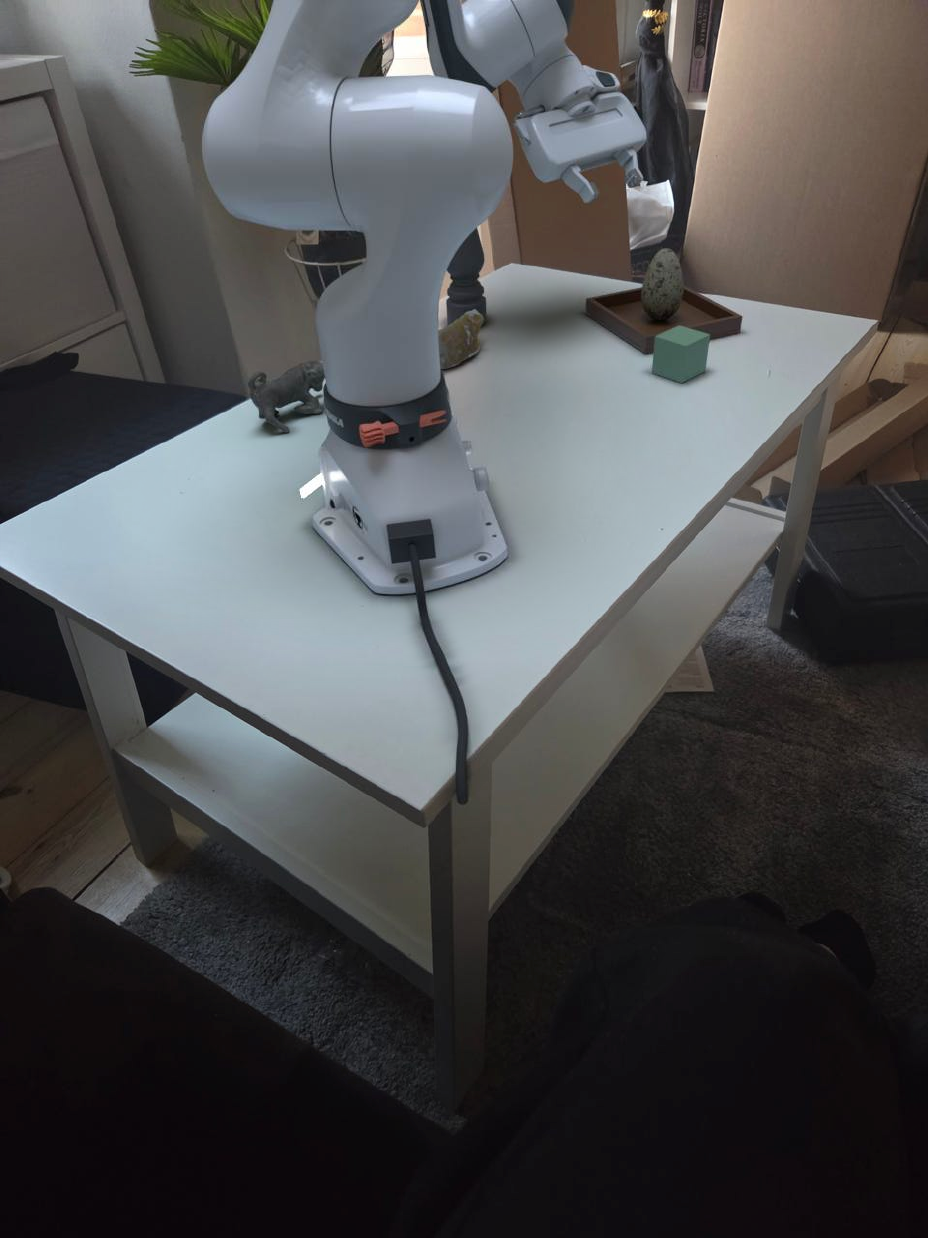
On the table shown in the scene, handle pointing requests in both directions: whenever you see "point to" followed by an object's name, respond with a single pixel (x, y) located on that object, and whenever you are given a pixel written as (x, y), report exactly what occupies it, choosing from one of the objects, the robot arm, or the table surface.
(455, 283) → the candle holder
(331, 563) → the table surface
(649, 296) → the decorative egg
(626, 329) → the tray
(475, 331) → the stone
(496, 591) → the table surface
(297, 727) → the table surface
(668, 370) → the green block
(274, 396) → the dog figurine
